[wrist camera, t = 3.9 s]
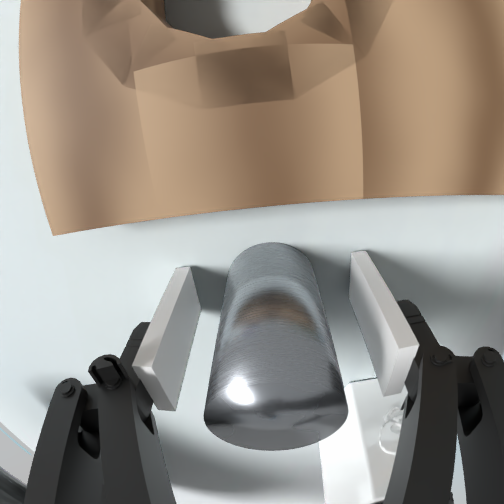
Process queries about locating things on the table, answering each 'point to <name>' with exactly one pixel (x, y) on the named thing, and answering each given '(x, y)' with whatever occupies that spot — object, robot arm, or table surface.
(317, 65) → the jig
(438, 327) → the table surface
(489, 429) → the robot arm
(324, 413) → the grey metal cylinder
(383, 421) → the jar
